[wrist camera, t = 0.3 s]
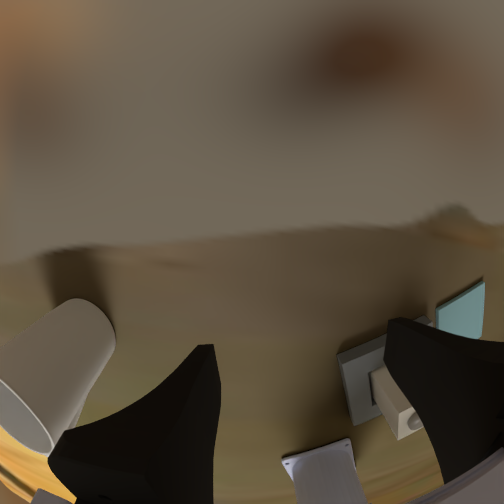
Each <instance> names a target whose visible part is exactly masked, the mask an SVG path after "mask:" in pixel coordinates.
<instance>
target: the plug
mask: <svg viewBox="0 0 504 504" xmlns="http://www.w3.org/2000/svg"><path fill="white" fill-rule="evenodd" d="M368 376H369V384H370V392H371V395H372V397H373V399H374V400H375V402H376V404H377V405H378V407H379V409H380V410H381V412H382V414H383V416H384V417H385V419H386V421H387V422H388V424H389V426H390V428H391V429H392V431H393V433H394V435H395V436H396V438H397V440H400V439H402V438H404V437H405V436H407V435H409V434H411V433H413V432H415V431H417V430H419V429H420V428H422V427H424V426H423V424H422V422H421V420H420V418H419V416H418V414H417V413H416V411H415V410H414V408H413V407H412V405H411V404H410V403H409V401H408V400H407V398H406V397H405V396H404V394H403V393H402V391H401V390H400V388H399V387H398V386H397V384H396V383H395V381H394V380H393V378H392V377H391V375H390V373H389V371H388V369H387V367H386V365H384V366H381V367H379V368H377V369H375V370H373V371H370V372H368Z"/></svg>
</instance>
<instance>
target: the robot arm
mask: <svg viewBox="0 0 504 504" xmlns="http://www.w3.org/2000/svg"><path fill="white" fill-rule="evenodd" d="M383 361H384V363H385V365H386V367H387V369H388V371H389V373H390V375H391V377H392V378H393V380H394V381H395V383H396V384H397V386H398V387H399V388H400V390H401V391H402V393H403V394H404V396H405V397H406V398H407V400H408V401H409V403H410V404H411V405H412V407H413V408H414V410H415V411H416V413H417V414H418V416H419V418H420V420H421V422H422V424H423V426H424V428H425V430H426V432H427V434H428V436H429V439H430V441H431V443H432V446H433V448H434V451H435V454H436V457H437V459H438V462H439V465H440V469H441V473H442V477H443V481H444V485H443V486H441V487H439V488H438V489H436V490H434V491H432V492H430V493H428V494H426V495H423V496H421V497H419V498H417V499H415V500H413V501H410V502H408V503H406V504H504V342H496V341H485V340H479V339H473V338H468V337H464V336H460V335H456V334H453V333H449V332H446V331H443V330H440V329H437V328H434V327H431V326H428V325H425V324H422V323H419V322H416V321H413V320H410V319H406V318H402V317H399V318H395V319H390V320H388V328H387V336H386V343H385V350H384V357H383ZM220 407H221V381H220V376H219V371H218V366H217V361H216V356H215V350H214V345H213V344H205V345H197V347H196V348H195V349H194V350H193V351H192V352H191V353H190V354H189V355H188V357H187V358H186V359H185V360H184V361H183V362H182V363H181V364H180V365H179V366H178V367H177V368H176V369H175V371H174V372H173V373H171V374H170V375H169V376H168V377H167V378H166V379H165V380H164V381H163V382H162V383H161V384H160V385H158V386H157V387H156V388H155V389H153V390H152V391H151V392H149V393H148V394H147V395H145V396H144V397H142V398H141V399H139V400H138V401H136V402H134V403H133V404H131V405H129V406H128V407H126V408H124V409H122V410H120V411H119V412H117V413H114V414H112V415H110V416H108V417H106V418H103V419H101V420H98V421H95V422H93V423H90V424H86V425H83V426H79V427H76V428H72V429H68V430H64V432H63V433H62V435H61V437H60V438H59V440H58V442H57V443H56V445H55V447H54V448H53V450H52V452H51V453H50V455H49V457H48V465H49V467H50V469H51V471H52V472H53V473H54V475H55V476H56V477H57V478H58V479H59V480H60V481H61V483H62V484H63V485H64V486H65V487H66V488H67V489H68V490H69V491H70V492H71V493H72V494H73V495H74V496H75V497H77V499H76V502H75V504H213V457H214V447H215V440H216V434H217V427H218V421H219V414H220ZM282 464H283V465H284V467H285V469H286V470H287V472H288V474H289V475H290V477H291V478H292V480H293V482H294V487H295V492H296V498H297V503H298V504H368V502H367V499H366V497H365V494H364V491H363V489H362V486H361V483H360V481H359V478H358V475H357V473H356V468H355V462H354V457H353V451H352V446H351V441H350V439H349V438H346V439H343V440H340V441H338V442H335V443H332V444H329V445H326V446H323V447H320V448H317V449H314V450H310V451H307V452H304V453H300V454H297V455H293V456H289V457H285V458H283V459H282ZM31 504H72V503H71V502H69V501H67V500H65V499H63V498H61V497H59V496H56V495H54V494H52V493H49V492H47V491H45V490H43V489H38V490H37V492H36V494H35V496H34V498H33V500H32V502H31ZM370 504H372V503H370Z"/></svg>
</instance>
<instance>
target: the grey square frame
mask: <svg viewBox="0 0 504 504" xmlns="http://www.w3.org/2000/svg"><path fill="white" fill-rule="evenodd" d="M413 321H416V322H419V323H422V324H425V325H428V326H431V327H432V321H431V320H430V319H428V318H427V317H426V316H424V315H423V316H421V317H419V318H417V319H415V320H413ZM386 336H387V333H386V334H384V335H382V336H380V337H378V338H375V339H373V340H371V341H369V342H366V343H364V344H362V345H359V346H357V347H354V348H352V349H350V350H347V351H345V352H342V353H340V354H337V359H338V363H339V368H340V372H341V377H342V381H343V386H344V391H345V395H346V400H347V405H348V410H349V415H350V418H351V421H352V423H353V425H354V426H356V425H359V424H361V423H364V422H366V421H368V420H371V419H373V418H375V417H377V416H380V415H382V412H381V410H380V409H379V407H378V405H377V404H376V402H375V400H374V399H373V397H372V395H371V392H370V384H369V376H368V372H370V371H373V370H375V369H377V368H379V367H381V366H384V365H385V363H384V361H383V357H384V350H385V343H386Z"/></svg>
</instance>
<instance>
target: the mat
mask: <svg viewBox="0 0 504 504" xmlns="http://www.w3.org/2000/svg"><path fill="white" fill-rule="evenodd" d="M484 293H485V282H483V281H481V282H479V283H478V284H476V285H475V286H473V287H471V288H470V289H468V290H467V291H465V292H463V293H462V294H460V295H458V296H457V297H455V298H453V299H452V300H450V301H448V302H446V303H445V304H443V305H441V306H439V307H438V308H436V328H437V329H440V330H443V331H446V332H449V333H453V334H456V335H460V336H464V337H468V338H473V339H478V338H479V337H481V334H482V324H483V312H484Z"/></svg>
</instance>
